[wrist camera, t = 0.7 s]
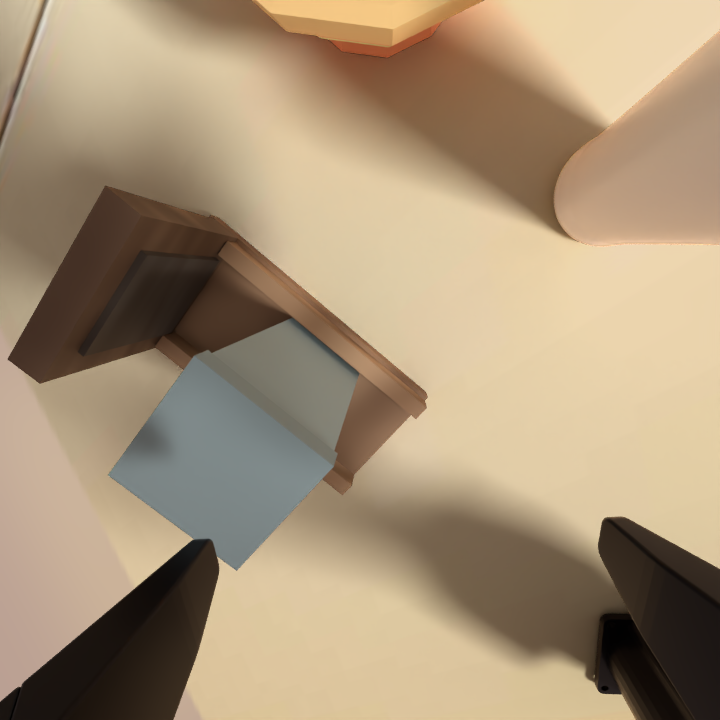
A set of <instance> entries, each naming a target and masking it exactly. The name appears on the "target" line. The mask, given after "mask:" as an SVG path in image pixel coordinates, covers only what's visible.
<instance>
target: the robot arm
mask: <svg viewBox="0 0 720 720" xmlns="http://www.w3.org/2000/svg"><path fill="white" fill-rule="evenodd" d="M598 550H599V554H600V557H601V559H602V561H603V563H604V565H605V567H606V569H607V571H608V572H609V574H610V576H611V578H612V580H613V582H614V584H615V586H616V588H617V590H618V592H619V594H620V596H621V598H622V600H623V601H624V603H625V605H626V607H627V609H628V611H629V613H630V614H605V615H603V616H602V617H601V619H600V627H599V638H598V649H597V659H596V670H595V681H594V682H595V685H596V687H597V689H598V691H599V692H600V693H603V694H622V695H623V697H624V699H625V701H626V702H627V704H628V706H629V708H630V710H631V712H632V713H633V715H634V717H635V719H636V720H720V569H719V568H717V567H715V566H713V565H711V564H710V563H708V562H706V561H704V560H702V559H700V558H699V557H697V556H695V555H693V554H691V553H690V552H688V551H686V550H684V549H682V548H680V547H679V546H677V545H675V544H673V543H671V542H669V541H668V540H666V539H664V538H662V537H660V536H659V535H657V534H655V533H653V532H651V531H649V530H648V529H646V528H644V527H642V526H640V525H638V524H637V523H635V522H633V521H631V520H629V519H627V518H625V517H607V518H604V519H603V521H602V525H601V531H600V537H599V542H598ZM218 575H219V563H218V559H217V555H216V551H215V547H214V543H213V541H212V540H211V539H209V538H207V539H195V540H192V541H191V542H189V543H188V544H187V545H186V546H185V547H183V548H182V549H181V550H180V551H179V552H178V553H176V554H175V555H174V556H173V557H172V558H170V559H169V560H168V561H167V562H166V563H164V564H163V565H162V566H161V567H160V568H159V569H157V570H156V571H155V572H154V573H153V574H151V575H150V576H149V577H148V578H147V579H145V580H144V581H143V582H142V583H141V584H140V585H138V586H137V587H136V588H135V589H134V590H132V591H131V592H130V593H129V594H128V595H126V596H125V597H124V598H123V599H122V600H121V601H119V602H118V603H117V604H116V605H115V606H114V607H112V608H111V609H110V610H109V611H107V612H106V613H105V614H104V615H103V616H102V617H101V618H99V619H98V620H97V621H96V622H95V623H93V624H92V625H91V626H90V627H88V628H87V629H86V630H85V631H84V632H83V633H81V634H80V635H79V636H78V637H77V638H75V639H74V640H73V641H72V642H71V643H69V644H68V645H67V646H66V647H65V648H64V649H62V650H61V651H60V652H59V653H58V654H56V655H55V656H54V657H53V658H52V659H50V660H49V661H48V662H47V663H46V664H45V665H43V666H42V667H41V668H40V669H39V670H38V671H36V672H35V673H34V674H33V675H31V676H30V677H29V678H28V679H27V680H26V681H24V683H23V684H22V686H21V687H17V688H16V689H15V690H13V691H12V692H11V693H10V694H9V695H8V696H6V697H5V698H4V699H3V700H2V701H1V702H0V720H173V719H174V717H175V714H176V711H177V708H178V706H179V703H180V700H181V697H182V695H183V692H184V689H185V687H186V684H187V681H188V678H189V676H190V673H191V670H192V667H193V665H194V662H195V659H196V656H197V653H198V650H199V647H200V643H201V640H202V636H203V632H204V629H205V625H206V621H207V617H208V613H209V610H210V606H211V602H212V598H213V595H214V591H215V587H216V583H217V580H218Z"/></svg>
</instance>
